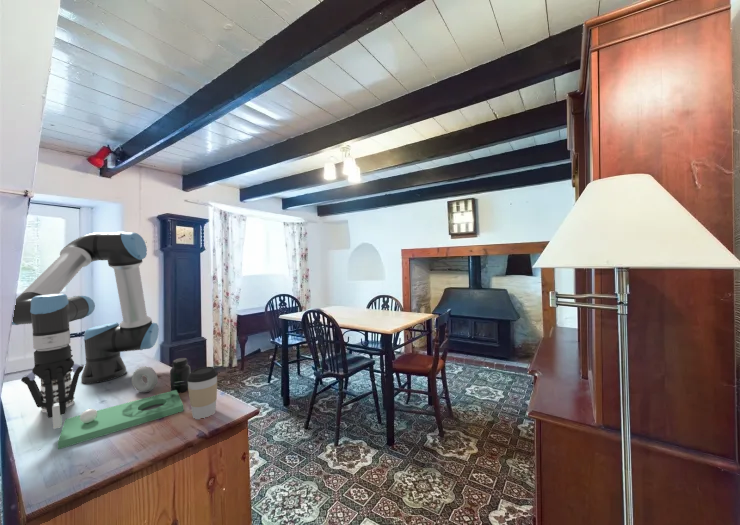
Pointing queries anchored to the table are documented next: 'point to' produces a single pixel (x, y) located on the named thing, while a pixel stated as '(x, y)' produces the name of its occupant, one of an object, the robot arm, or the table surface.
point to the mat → (120, 418)
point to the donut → (138, 381)
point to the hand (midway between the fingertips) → (57, 426)
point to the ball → (88, 415)
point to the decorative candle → (55, 389)
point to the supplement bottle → (179, 375)
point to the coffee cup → (202, 391)
